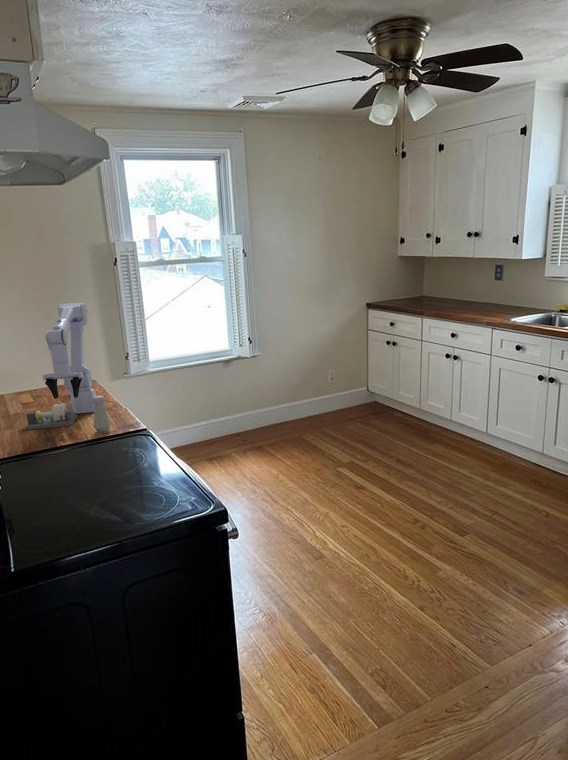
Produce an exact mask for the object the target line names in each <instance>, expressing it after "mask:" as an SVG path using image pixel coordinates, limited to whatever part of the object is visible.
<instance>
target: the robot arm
mask: <svg viewBox="0 0 568 760" xmlns="http://www.w3.org/2000/svg"><path fill="white" fill-rule="evenodd" d="M57 309H58V310H57V311H58V316H59V318H57V319H56V320H55V321H54V323H53V325H52V327H51V329H49V330H48V331H46V333H45V342H46V344H47V346H48V347H47V348H48V351H50V356H51V361H52V368H53V369H52V370H53V373H45V374H42V381H44V384H45V385H46V387H47V388H48V389H49V390H50V392H51V394H52V396H53V399H54V400H55V399H56V400H57V399H59V391H58V380H63V386H64V388H65V389H66V391H68V392H69V394H70V399H71V405H72V409H73V411H74V415H78V414H86V413H94V406H95V404H93V403H92V398H93V397H95V396H97V392H96V389H95V388H91V387H92V386H93V378H92V371H91V370H90V368H88V367H86V366H85V365H84V326H86V325H87V324H88V310H87V305H86V304H85V303H84V302H83V301H82V302H75V303H74V302H73V303H59V305H58V308H57ZM69 331H70V358H69V350H68V346H67V345H68V344H69Z"/></svg>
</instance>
